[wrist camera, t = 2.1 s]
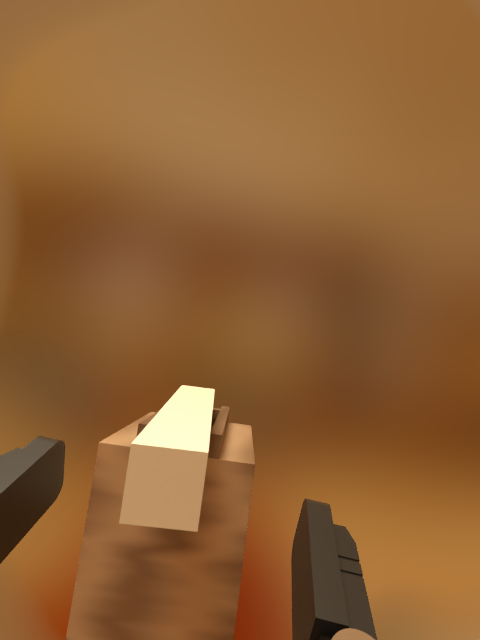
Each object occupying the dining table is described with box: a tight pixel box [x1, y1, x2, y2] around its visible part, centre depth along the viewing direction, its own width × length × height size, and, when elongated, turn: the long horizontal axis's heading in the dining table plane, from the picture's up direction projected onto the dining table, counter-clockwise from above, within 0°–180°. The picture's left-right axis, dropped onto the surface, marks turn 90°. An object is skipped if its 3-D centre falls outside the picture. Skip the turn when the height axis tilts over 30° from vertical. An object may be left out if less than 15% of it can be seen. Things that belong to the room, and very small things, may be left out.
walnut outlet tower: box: [66, 406, 255, 640], centre depth 28 cm, size 10×13×34 cm
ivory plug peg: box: [119, 385, 214, 532], centre depth 23 cm, size 3×19×3 cm, turn 4°
